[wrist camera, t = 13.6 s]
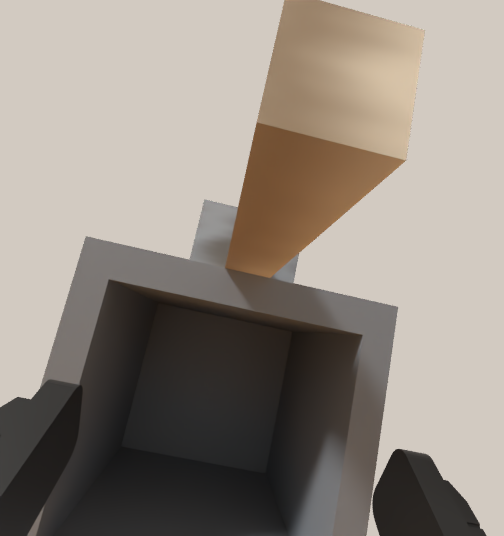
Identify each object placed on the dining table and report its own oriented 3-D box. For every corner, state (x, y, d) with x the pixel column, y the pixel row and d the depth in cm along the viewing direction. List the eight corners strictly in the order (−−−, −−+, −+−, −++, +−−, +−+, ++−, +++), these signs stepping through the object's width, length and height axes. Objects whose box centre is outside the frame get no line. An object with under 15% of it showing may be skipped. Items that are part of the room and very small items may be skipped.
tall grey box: (-148, 1010, 15) (85, 236, 20) (58, 618, 34) (147, 281, 40) (295, 1044, 16) (397, 307, 22) (249, 648, 35) (309, 317, 41)
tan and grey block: (92, 80, 6) (181, -198, 7) (190, 284, 33) (205, 221, 34) (551, 197, 6) (570, -77, 8) (276, 303, 34) (289, 241, 35)
